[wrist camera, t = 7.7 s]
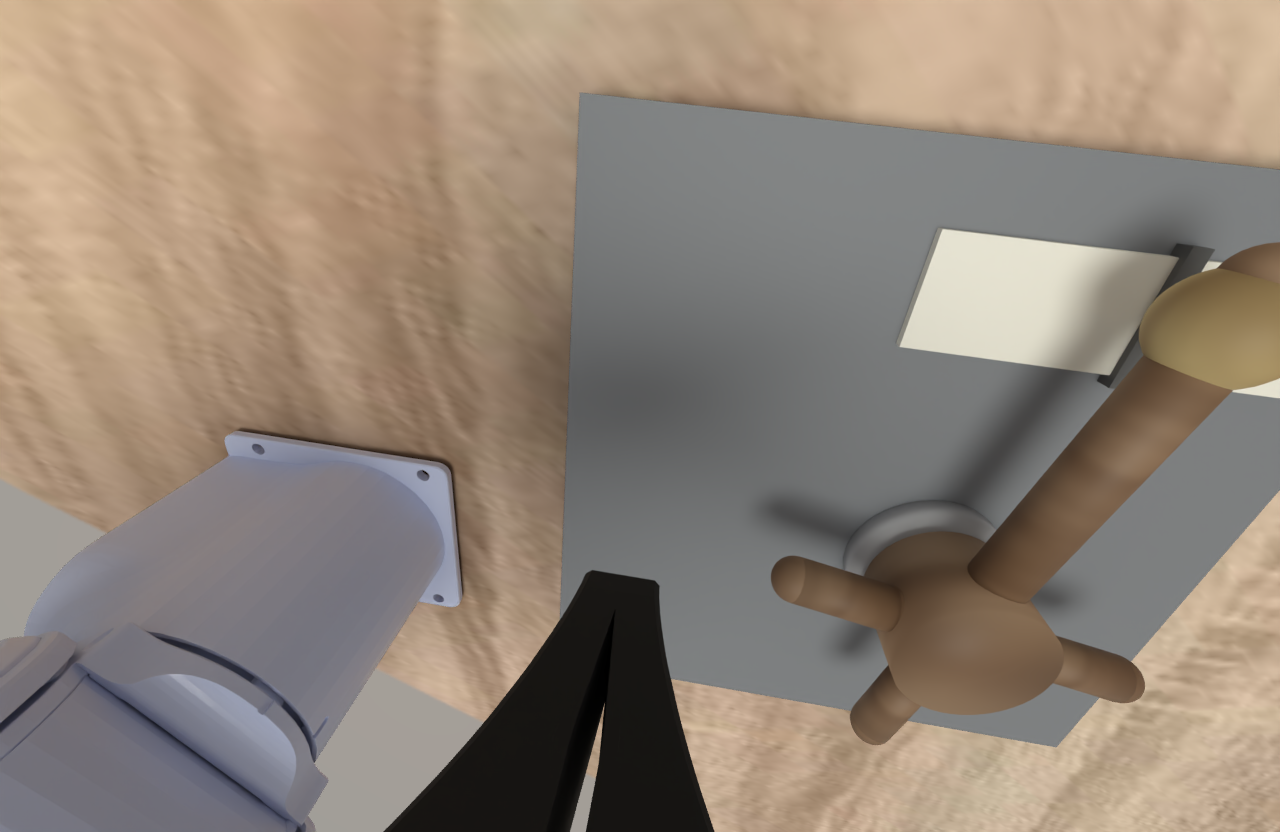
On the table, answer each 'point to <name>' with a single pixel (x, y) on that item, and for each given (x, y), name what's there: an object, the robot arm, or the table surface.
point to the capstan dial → (1048, 523)
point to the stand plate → (880, 376)
